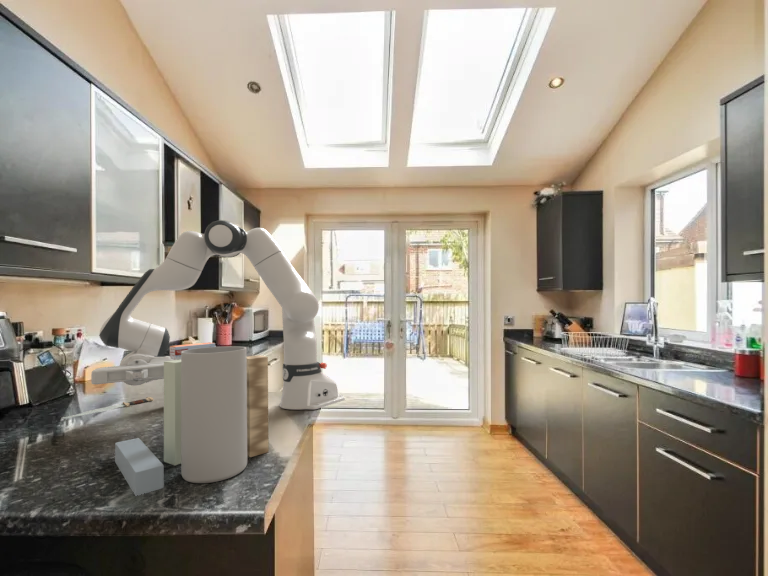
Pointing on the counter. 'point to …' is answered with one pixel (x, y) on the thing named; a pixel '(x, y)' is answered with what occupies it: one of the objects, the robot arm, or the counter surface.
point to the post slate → (139, 466)
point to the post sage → (172, 412)
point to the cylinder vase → (213, 413)
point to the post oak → (257, 405)
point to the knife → (114, 407)
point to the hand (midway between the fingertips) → (137, 376)
